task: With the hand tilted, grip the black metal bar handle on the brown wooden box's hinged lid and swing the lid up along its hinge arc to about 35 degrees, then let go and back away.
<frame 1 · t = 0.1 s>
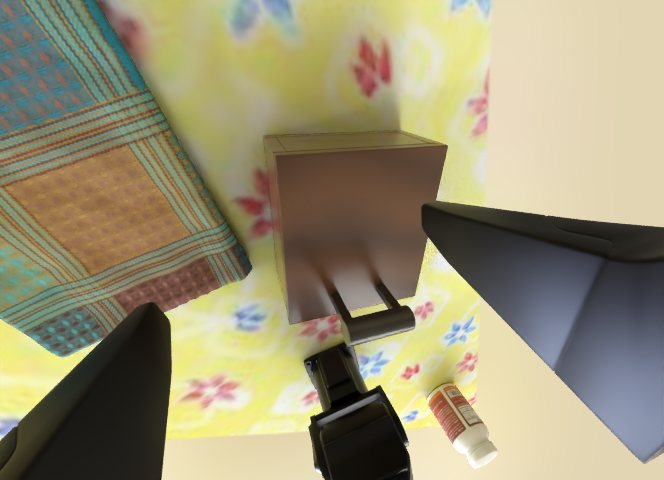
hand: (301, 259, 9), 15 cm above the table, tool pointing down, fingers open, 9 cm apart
pill bottle: (439, 391, 52), on the table
lid: (373, 257, 19), point 8 cm above the table, hinge at 0.0°
brown wooden box: (335, 205, 25), on the table
dish towel: (56, 184, 18), on the table
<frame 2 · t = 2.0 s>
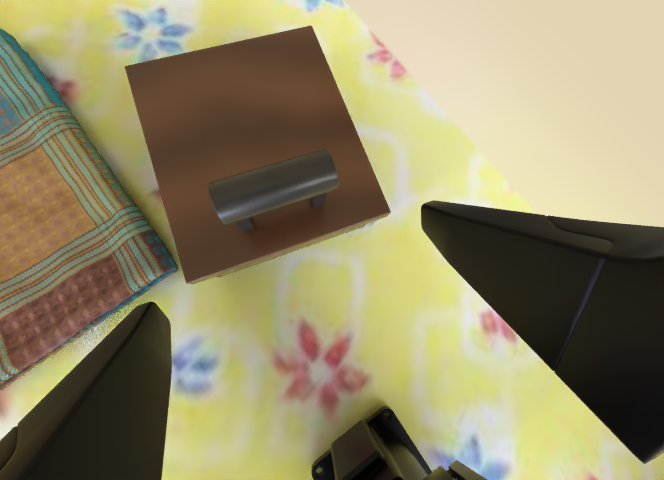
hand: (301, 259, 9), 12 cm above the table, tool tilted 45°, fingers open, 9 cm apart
lid: (250, 117, 14), point 8 cm above the table, hinge at 0.0°
brown wooden box: (268, 177, 22), on the table
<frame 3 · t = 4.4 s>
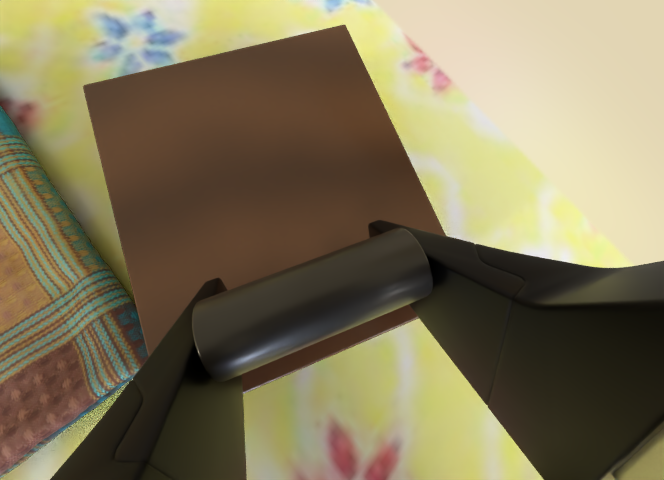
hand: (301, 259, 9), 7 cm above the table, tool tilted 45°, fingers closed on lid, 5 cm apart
lid: (265, 162, 9), point 8 cm above the table, hinge at 0.0°, touching gripper
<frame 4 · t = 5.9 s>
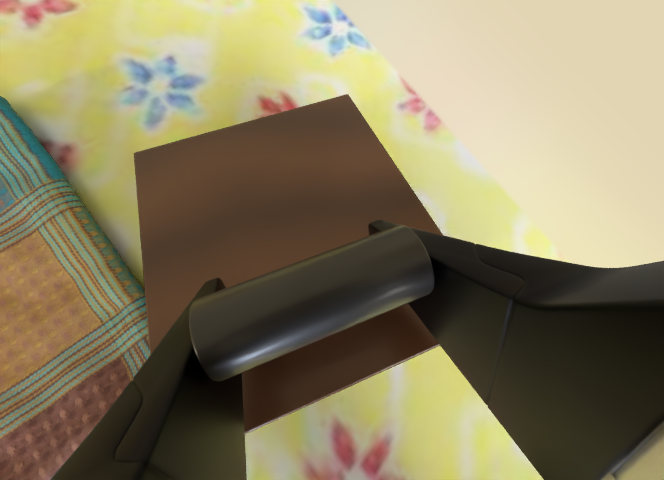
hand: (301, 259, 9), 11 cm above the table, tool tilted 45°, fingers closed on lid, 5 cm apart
lid: (275, 192, 10), point 10 cm above the table, hinge at 17.9°, touching gripper
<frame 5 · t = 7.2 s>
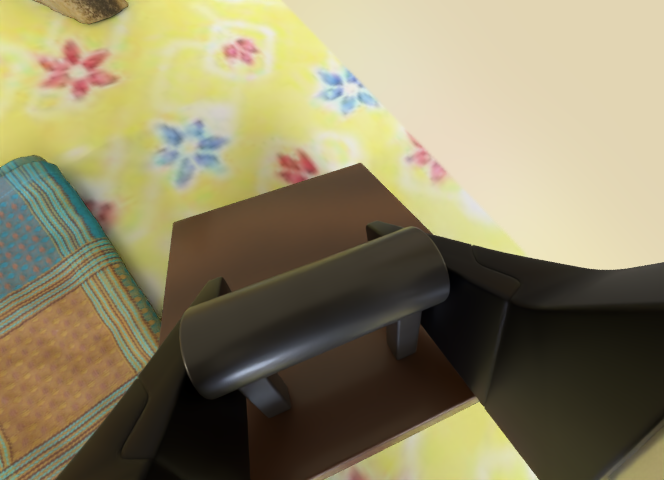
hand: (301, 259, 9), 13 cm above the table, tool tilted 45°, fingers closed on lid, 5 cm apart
lid: (290, 234, 10), point 11 cm above the table, hinge at 33.8°, touching gripper
rock: (65, 0, 27), on the table
dish towel: (24, 352, 19), on the table
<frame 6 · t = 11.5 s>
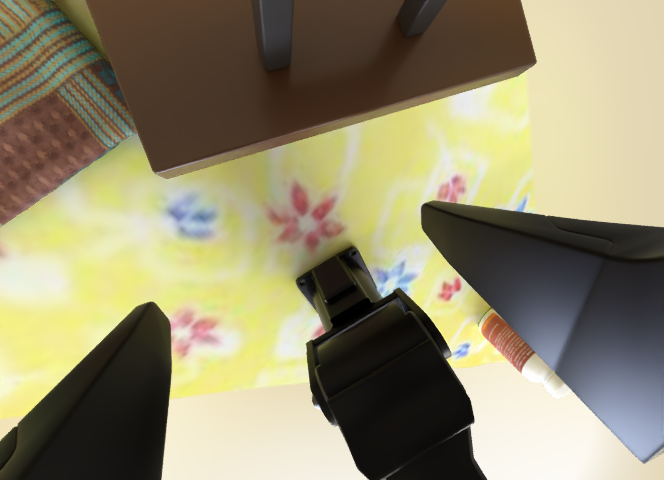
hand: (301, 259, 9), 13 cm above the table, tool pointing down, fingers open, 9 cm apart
pill bottle: (493, 315, 41), on the table
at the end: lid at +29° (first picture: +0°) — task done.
